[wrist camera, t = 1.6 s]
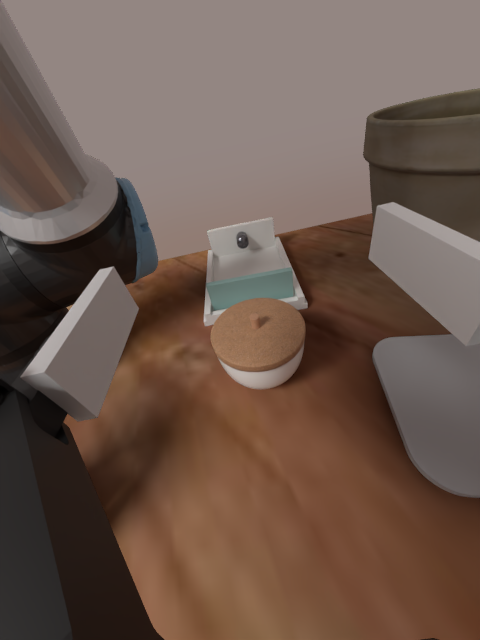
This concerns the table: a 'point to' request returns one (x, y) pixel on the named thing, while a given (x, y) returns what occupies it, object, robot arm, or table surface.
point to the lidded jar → (259, 342)
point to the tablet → (435, 406)
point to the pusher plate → (251, 288)
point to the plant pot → (428, 159)
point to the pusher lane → (246, 259)
